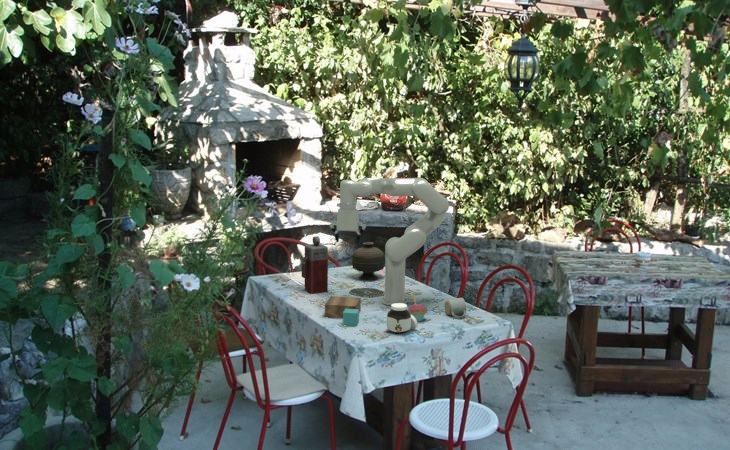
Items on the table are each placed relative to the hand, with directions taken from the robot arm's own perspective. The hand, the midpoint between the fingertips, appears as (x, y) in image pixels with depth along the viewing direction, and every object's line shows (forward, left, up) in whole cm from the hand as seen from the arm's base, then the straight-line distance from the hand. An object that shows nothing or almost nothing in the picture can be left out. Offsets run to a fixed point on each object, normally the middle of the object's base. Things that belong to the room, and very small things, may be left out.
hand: (347, 242), depth 366 cm
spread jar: (-30, +38, -30) cm, 57 cm away
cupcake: (-35, +21, -30) cm, 51 cm away
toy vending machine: (+20, -16, -30) cm, 39 cm away
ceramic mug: (-53, +11, -30) cm, 61 cm away
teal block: (-7, +33, -30) cm, 45 cm away
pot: (-3, -47, -30) cm, 56 cm away
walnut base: (-1, +19, -29) cm, 35 cm away
